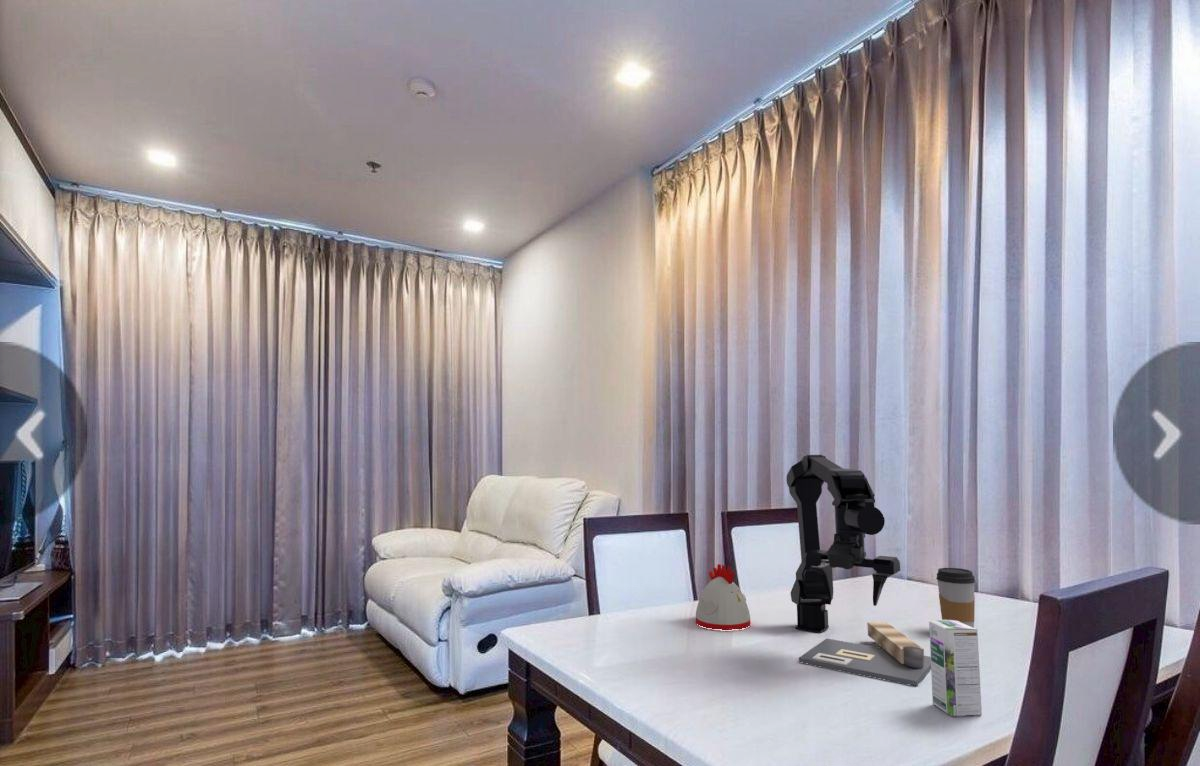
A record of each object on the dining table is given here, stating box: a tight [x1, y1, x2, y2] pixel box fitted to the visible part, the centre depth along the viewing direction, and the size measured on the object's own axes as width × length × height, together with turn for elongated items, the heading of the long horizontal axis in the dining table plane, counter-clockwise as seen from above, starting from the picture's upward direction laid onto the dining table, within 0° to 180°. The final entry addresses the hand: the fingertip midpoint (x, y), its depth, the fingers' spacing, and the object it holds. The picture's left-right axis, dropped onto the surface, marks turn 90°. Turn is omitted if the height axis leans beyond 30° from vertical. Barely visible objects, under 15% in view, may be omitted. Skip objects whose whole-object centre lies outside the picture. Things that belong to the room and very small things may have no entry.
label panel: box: [798, 638, 931, 687], centre depth 137 cm, size 23×17×1 cm
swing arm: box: [867, 621, 925, 668], centre depth 141 cm, size 22×4×3 cm, turn 176°
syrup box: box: [928, 619, 983, 717], centre depth 113 cm, size 6×6×14 cm
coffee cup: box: [936, 567, 976, 628], centre depth 157 cm, size 8×8×15 cm
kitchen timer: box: [695, 563, 752, 630], centre depth 168 cm, size 14×14×15 cm
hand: (852, 602), depth 140 cm, fingers open, 9 cm apart
